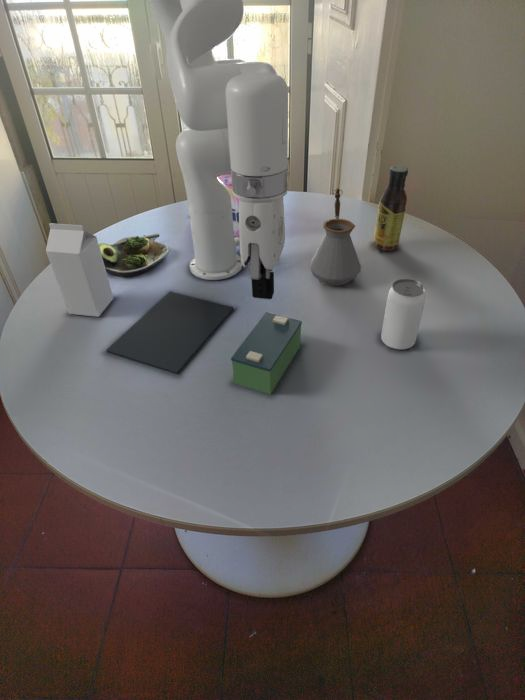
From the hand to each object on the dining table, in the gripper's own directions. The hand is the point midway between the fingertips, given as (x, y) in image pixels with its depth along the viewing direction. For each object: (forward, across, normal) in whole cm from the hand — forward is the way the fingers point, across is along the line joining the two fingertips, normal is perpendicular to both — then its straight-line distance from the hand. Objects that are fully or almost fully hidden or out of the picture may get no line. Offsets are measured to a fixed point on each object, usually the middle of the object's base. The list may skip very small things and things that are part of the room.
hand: (263, 295), depth 74 cm
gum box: (+16, +57, +23) cm, 64 cm away
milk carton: (+16, +13, +41) cm, 46 cm away
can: (+16, +12, -23) cm, 31 cm away
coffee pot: (+16, +38, -9) cm, 43 cm away
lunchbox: (+13, -5, +1) cm, 14 cm away
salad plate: (+16, +34, +42) cm, 56 cm away
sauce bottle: (+16, +50, -21) cm, 57 cm away
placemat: (+16, +8, +21) cm, 27 cm away
